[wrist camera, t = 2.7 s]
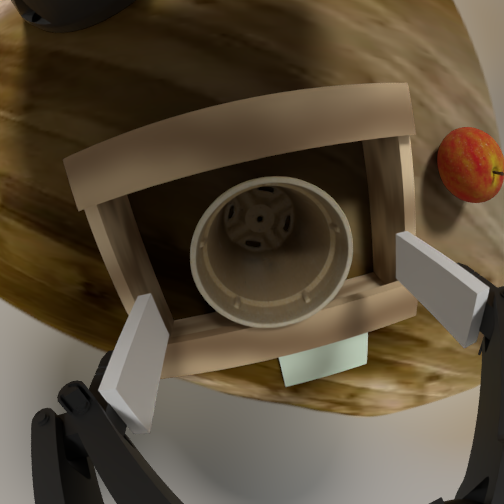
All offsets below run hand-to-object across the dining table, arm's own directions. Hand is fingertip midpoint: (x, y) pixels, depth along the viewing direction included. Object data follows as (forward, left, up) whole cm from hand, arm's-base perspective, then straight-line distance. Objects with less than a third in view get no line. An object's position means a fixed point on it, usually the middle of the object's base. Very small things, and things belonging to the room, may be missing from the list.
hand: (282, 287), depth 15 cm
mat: (+15, +4, -11) cm, 19 cm away
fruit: (-2, +20, -11) cm, 23 cm away
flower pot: (0, 0, -11) cm, 11 cm away
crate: (0, 0, -11) cm, 11 cm away
